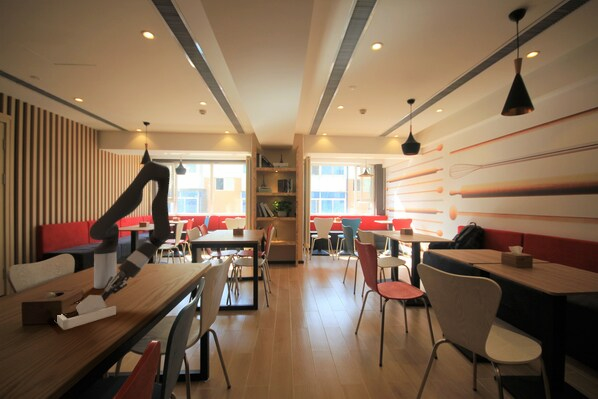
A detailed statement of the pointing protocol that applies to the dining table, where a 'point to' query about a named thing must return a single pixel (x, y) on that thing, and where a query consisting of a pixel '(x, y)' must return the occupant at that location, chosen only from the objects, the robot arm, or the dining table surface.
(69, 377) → the dining table surface
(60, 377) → the dining table surface
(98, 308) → the die
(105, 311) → the corral
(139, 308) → the dining table surface
